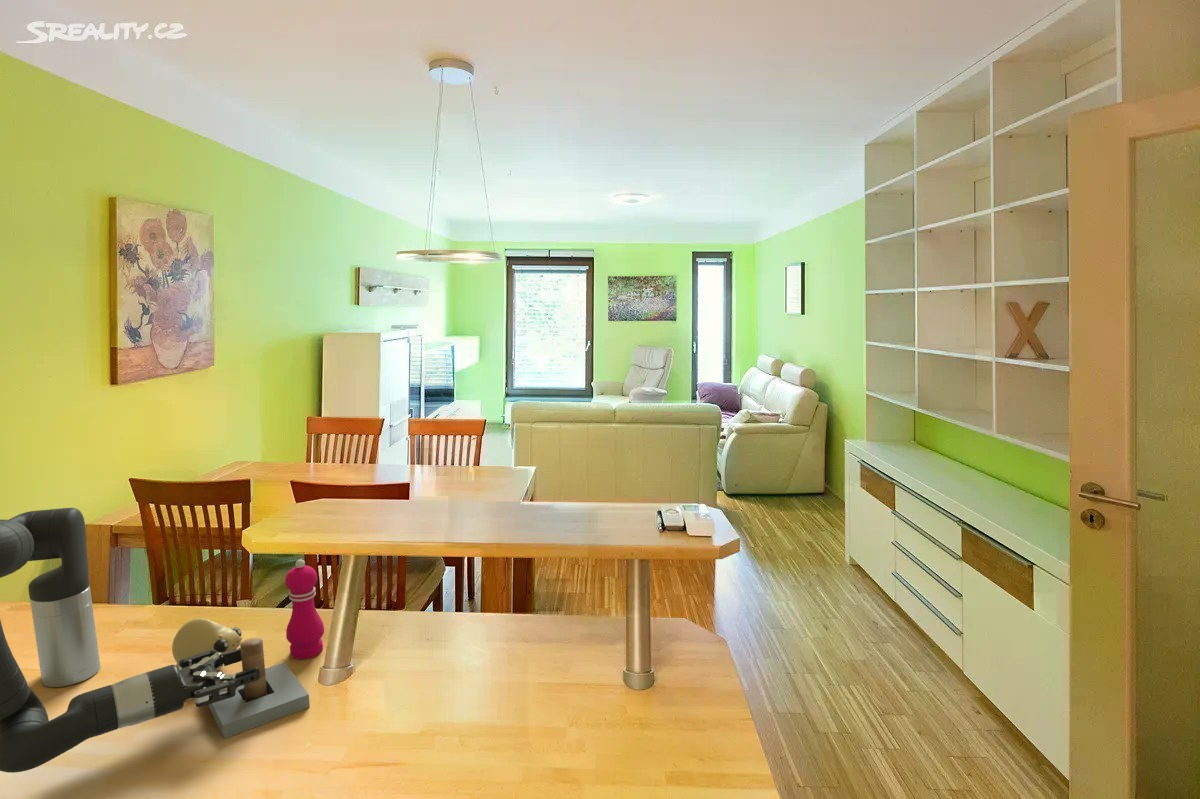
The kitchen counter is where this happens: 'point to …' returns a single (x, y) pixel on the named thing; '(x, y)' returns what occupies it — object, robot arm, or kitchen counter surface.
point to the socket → (261, 703)
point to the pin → (250, 659)
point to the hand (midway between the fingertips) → (252, 662)
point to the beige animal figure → (204, 639)
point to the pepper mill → (303, 613)
